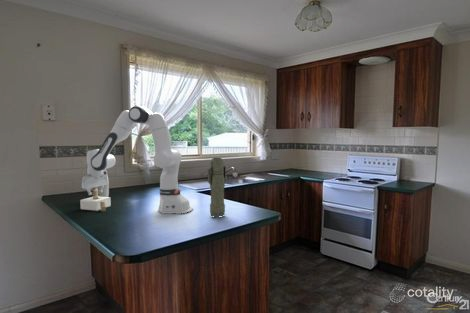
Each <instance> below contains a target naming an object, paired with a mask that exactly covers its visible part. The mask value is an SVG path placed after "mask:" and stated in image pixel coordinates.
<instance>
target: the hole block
mask: <svg viewBox="0 0 470 313" xmlns="http://www.w3.org/2000/svg"><path fill="white" fill-rule="evenodd" d="M79 201H80V206H79V207H80V210H87V211H99V210H100V211H101V207H100V202H101V201H105V204H106V208H108V207H111V204H112V203H111V202H112V200H111V196H110V197H109V196H108V197H100V196H98V199H96V200H95V199H93V196H91V197H87V198H83V199H80V200H79Z"/></svg>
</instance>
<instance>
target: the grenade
mask: <svg viewBox="0 0 470 313" xmlns="http://www.w3.org/2000/svg"><path fill="white" fill-rule="evenodd" d="M207 183H208V185H209V188H210V204H209V212H210V215H211V216H214V217H219V216H223V215H225V216H226V204H225V184H226V183H227V167H226V165H224V159H223V158H222V157H213V158H211V161H210V166H208V167H207Z"/></svg>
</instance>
